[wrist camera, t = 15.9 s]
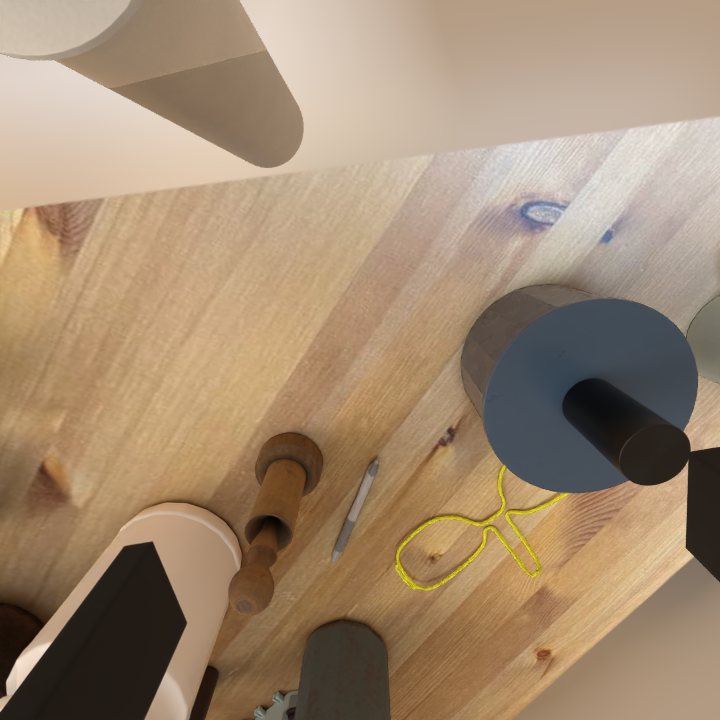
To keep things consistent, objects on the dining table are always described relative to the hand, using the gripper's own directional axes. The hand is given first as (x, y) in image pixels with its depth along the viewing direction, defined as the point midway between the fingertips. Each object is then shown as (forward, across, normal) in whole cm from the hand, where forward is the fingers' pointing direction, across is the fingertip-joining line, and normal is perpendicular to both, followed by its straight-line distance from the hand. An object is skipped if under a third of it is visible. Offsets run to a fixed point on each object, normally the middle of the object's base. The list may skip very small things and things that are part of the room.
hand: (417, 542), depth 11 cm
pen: (+31, -7, -21) cm, 38 cm away
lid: (+21, +14, -8) cm, 27 cm away
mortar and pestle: (+31, -12, -14) cm, 36 cm away
